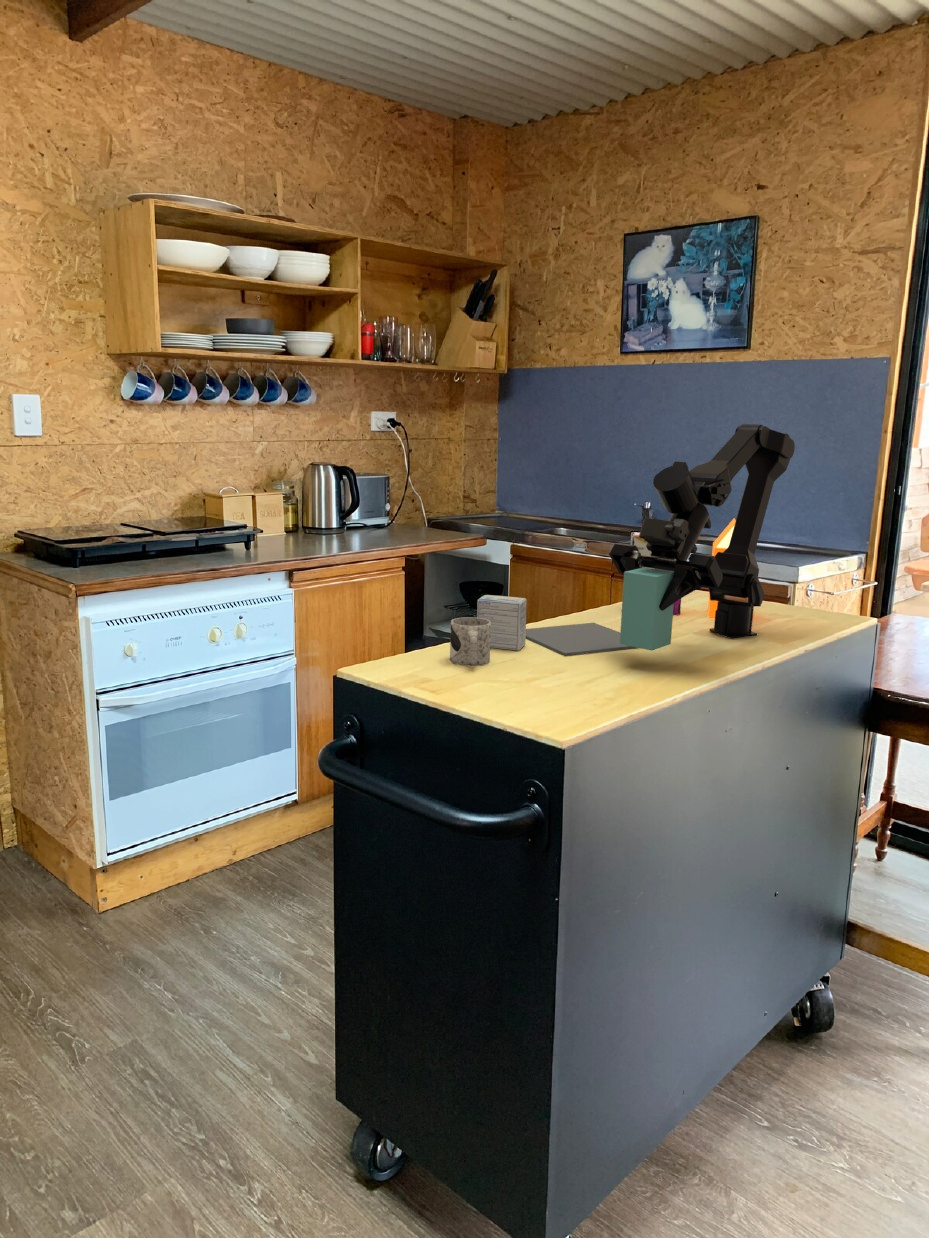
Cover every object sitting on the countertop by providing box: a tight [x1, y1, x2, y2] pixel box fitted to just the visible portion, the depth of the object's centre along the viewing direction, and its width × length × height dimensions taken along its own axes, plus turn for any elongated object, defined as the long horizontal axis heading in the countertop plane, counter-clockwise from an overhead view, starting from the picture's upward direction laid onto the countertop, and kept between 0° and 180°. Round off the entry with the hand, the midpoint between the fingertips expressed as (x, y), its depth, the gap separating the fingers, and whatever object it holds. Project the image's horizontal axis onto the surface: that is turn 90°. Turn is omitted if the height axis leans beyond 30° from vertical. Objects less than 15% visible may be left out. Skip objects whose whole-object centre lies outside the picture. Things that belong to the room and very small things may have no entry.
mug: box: [449, 616, 491, 667], centre depth 152 cm, size 10×7×7 cm, turn 4°
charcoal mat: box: [526, 622, 638, 657], centre depth 170 cm, size 18×18×1 cm
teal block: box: [620, 568, 674, 651], centre depth 151 cm, size 6×6×12 cm
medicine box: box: [476, 594, 528, 651], centre depth 163 cm, size 8×4×9 cm, turn 71°
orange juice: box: [707, 517, 736, 620], centre depth 192 cm, size 8×9×20 cm
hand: (643, 605), depth 150 cm, fingers closed on teal block, 6 cm apart
